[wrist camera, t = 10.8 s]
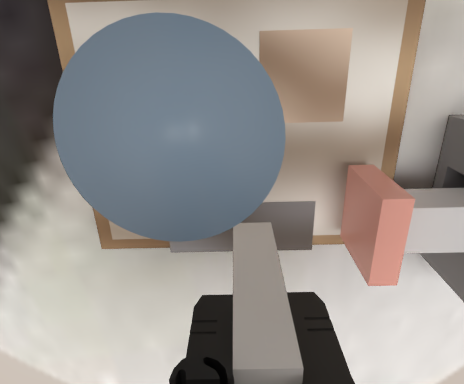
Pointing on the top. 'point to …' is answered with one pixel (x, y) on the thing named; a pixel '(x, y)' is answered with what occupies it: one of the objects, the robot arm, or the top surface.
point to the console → (450, 176)
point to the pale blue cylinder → (169, 127)
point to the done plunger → (397, 222)
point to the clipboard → (293, 98)
